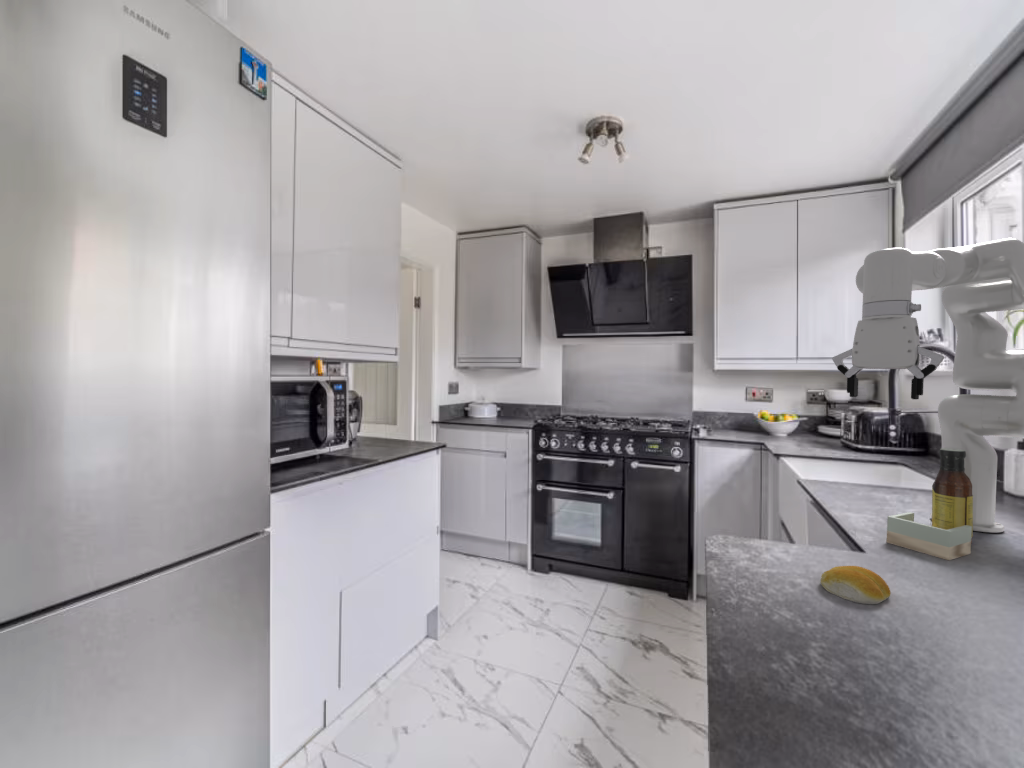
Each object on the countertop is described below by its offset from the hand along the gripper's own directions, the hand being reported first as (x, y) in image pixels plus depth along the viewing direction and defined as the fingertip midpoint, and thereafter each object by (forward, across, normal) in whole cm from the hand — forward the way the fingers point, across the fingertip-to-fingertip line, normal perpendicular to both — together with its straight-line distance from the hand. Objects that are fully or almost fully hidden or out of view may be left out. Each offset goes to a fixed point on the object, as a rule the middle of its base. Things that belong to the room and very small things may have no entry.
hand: (883, 397), depth 90 cm
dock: (+31, -6, -9) cm, 33 cm away
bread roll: (+31, -2, +28) cm, 42 cm away
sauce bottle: (+31, -9, -19) cm, 37 cm away
